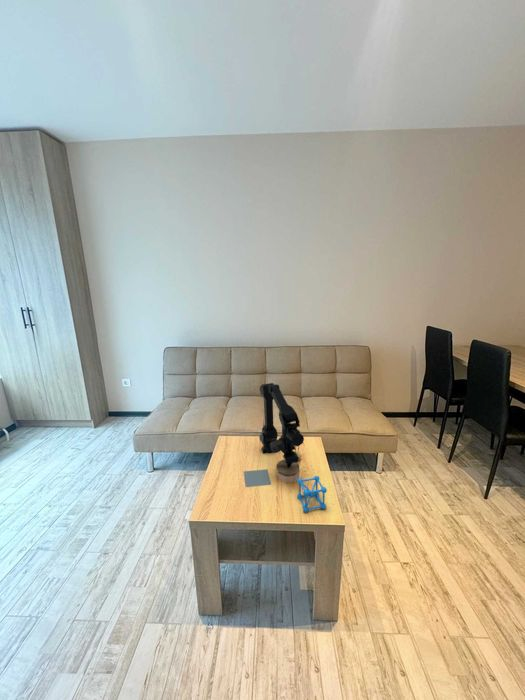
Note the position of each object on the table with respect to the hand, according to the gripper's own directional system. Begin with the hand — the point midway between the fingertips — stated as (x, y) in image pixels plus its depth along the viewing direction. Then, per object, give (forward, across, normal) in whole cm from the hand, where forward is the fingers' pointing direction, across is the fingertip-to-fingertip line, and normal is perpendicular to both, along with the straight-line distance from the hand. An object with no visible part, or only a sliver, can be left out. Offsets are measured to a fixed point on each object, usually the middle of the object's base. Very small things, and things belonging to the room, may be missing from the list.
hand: (287, 465), depth 144 cm
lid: (+1, 0, 0) cm, 1 cm away
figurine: (+7, -15, +8) cm, 18 cm away
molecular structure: (+7, +19, +6) cm, 21 cm away
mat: (+6, -1, -15) cm, 16 cm away
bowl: (+6, 0, 0) cm, 6 cm away
